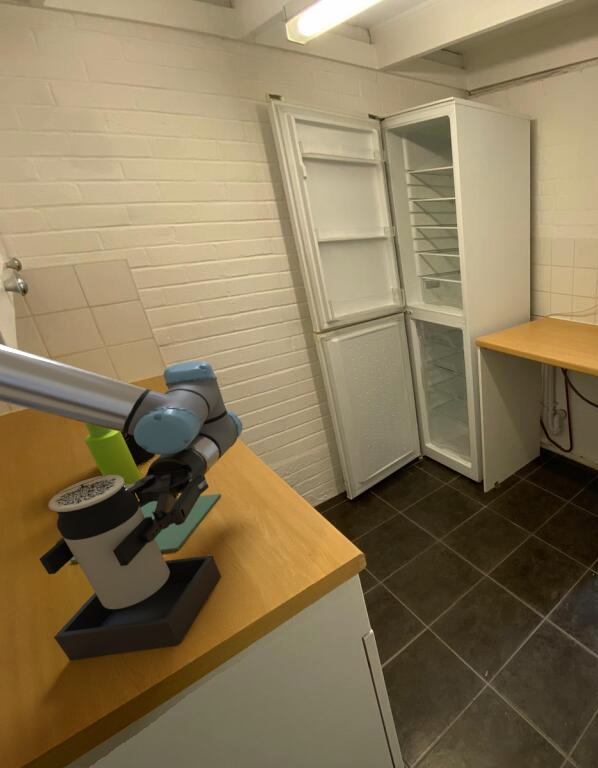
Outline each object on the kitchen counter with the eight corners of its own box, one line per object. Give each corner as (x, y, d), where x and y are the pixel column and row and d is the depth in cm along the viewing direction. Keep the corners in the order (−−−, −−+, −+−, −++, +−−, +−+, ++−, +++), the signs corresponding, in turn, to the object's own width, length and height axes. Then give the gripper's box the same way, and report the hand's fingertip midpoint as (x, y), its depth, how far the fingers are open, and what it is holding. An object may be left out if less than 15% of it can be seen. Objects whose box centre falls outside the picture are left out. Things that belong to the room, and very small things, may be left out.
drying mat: (71, 562, 76) (69, 560, 76) (132, 505, 90) (131, 502, 90) (178, 550, 78) (177, 547, 78) (221, 495, 92) (220, 493, 92)
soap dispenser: (116, 494, 94) (76, 416, 86) (104, 485, 97) (65, 409, 89) (147, 481, 98) (112, 405, 90) (135, 472, 102) (101, 398, 94)
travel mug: (175, 586, 63) (129, 489, 56) (105, 621, 58) (45, 519, 51) (165, 558, 68) (122, 466, 61) (100, 588, 63) (44, 492, 56)
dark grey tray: (69, 660, 59) (53, 637, 57) (130, 587, 70) (118, 566, 68) (179, 645, 61) (167, 622, 59) (221, 576, 72) (212, 554, 70)
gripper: (250, 475, 78) (179, 573, 57) (129, 487, 76) (9, 593, 55) (239, 441, 75) (159, 531, 55) (113, 452, 73) (-22, 550, 52)
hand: (84, 562), depth 55 cm, fingers closed on travel mug, 8 cm apart
